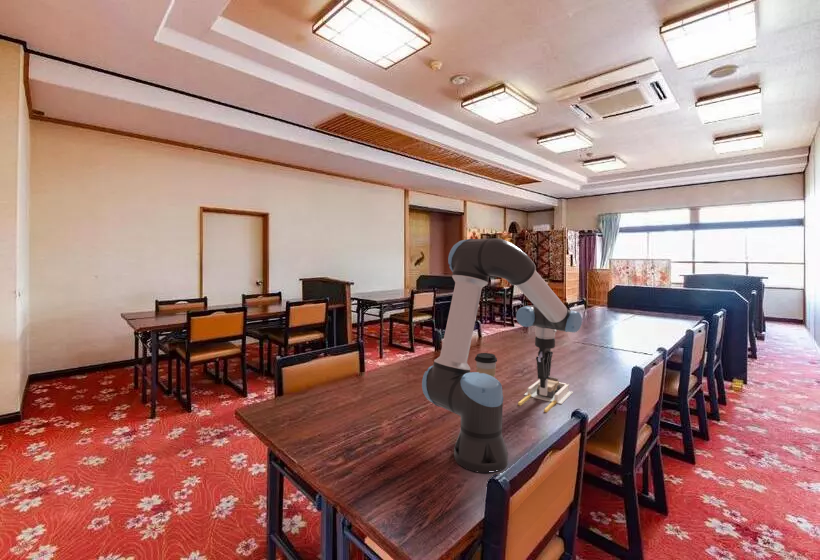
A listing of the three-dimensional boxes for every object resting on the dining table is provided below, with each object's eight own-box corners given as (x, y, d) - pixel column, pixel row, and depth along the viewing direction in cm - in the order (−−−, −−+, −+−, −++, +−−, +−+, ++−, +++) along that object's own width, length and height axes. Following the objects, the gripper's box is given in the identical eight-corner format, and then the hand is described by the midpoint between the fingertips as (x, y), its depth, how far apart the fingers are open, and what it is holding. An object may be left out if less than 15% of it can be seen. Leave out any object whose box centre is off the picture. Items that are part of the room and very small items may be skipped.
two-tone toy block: (551, 399, 150) (551, 385, 150) (536, 395, 154) (536, 382, 153) (559, 391, 159) (560, 378, 158) (545, 387, 162) (546, 375, 162)
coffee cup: (496, 394, 156) (497, 359, 155) (473, 392, 158) (474, 357, 157) (496, 386, 165) (497, 353, 164) (474, 384, 167) (475, 351, 166)
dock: (552, 414, 137) (552, 404, 137) (513, 403, 146) (513, 395, 146) (572, 392, 158) (573, 384, 158) (537, 384, 167) (537, 377, 167)
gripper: (549, 341, 142) (547, 402, 144) (559, 335, 152) (558, 392, 154) (529, 338, 147) (528, 397, 149) (541, 333, 157) (539, 388, 159)
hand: (543, 394), depth 151 cm, fingers closed
